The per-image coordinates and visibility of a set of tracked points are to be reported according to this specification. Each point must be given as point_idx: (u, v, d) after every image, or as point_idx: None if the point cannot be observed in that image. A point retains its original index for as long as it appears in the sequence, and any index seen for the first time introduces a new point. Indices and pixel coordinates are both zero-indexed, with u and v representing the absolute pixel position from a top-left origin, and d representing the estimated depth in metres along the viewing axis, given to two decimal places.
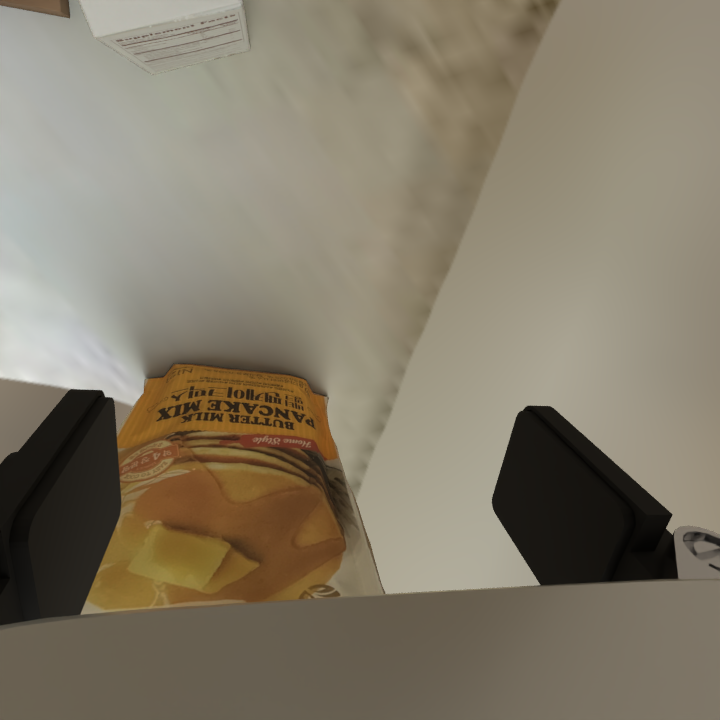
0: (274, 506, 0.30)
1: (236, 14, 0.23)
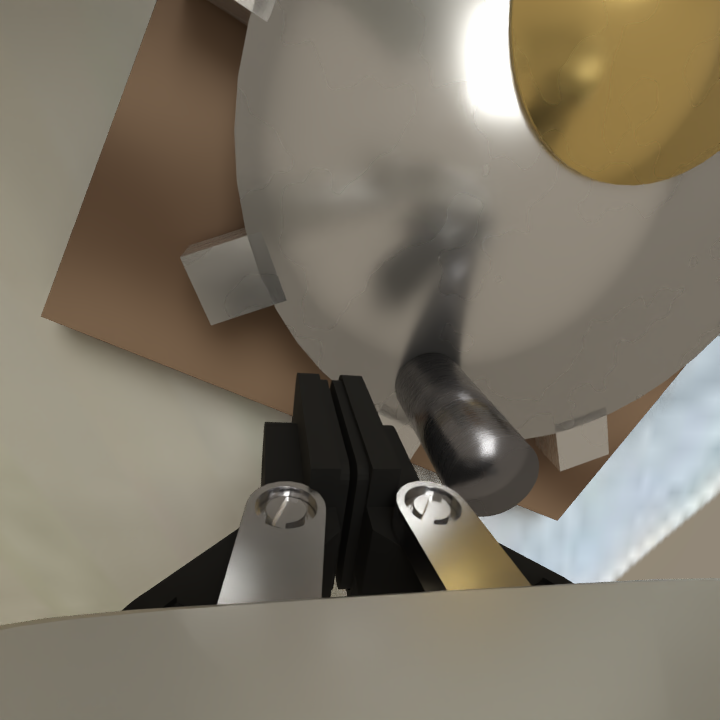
0: None
1: None
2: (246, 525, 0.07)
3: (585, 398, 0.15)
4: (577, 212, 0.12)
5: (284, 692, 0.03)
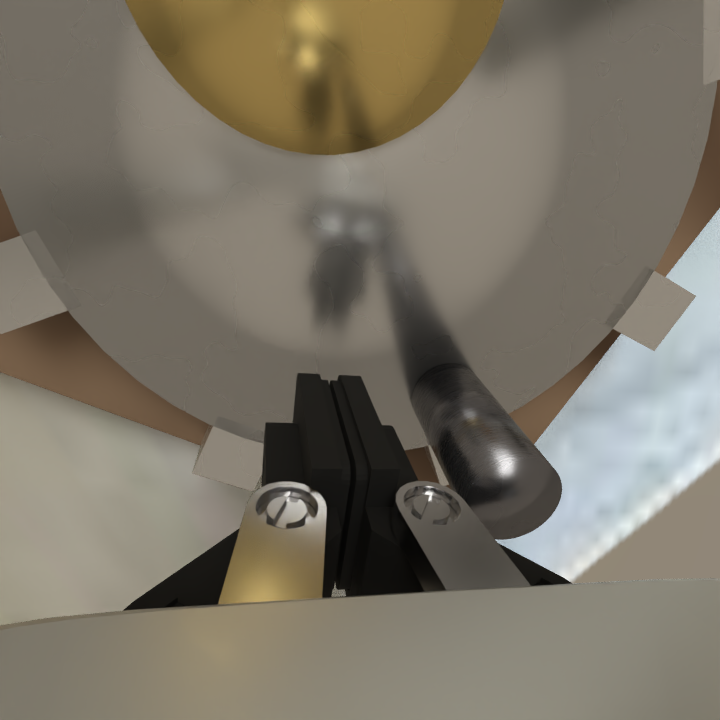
0: None
1: None
2: (247, 525, 0.07)
3: (613, 279, 0.12)
4: (430, 164, 0.11)
5: (284, 692, 0.03)
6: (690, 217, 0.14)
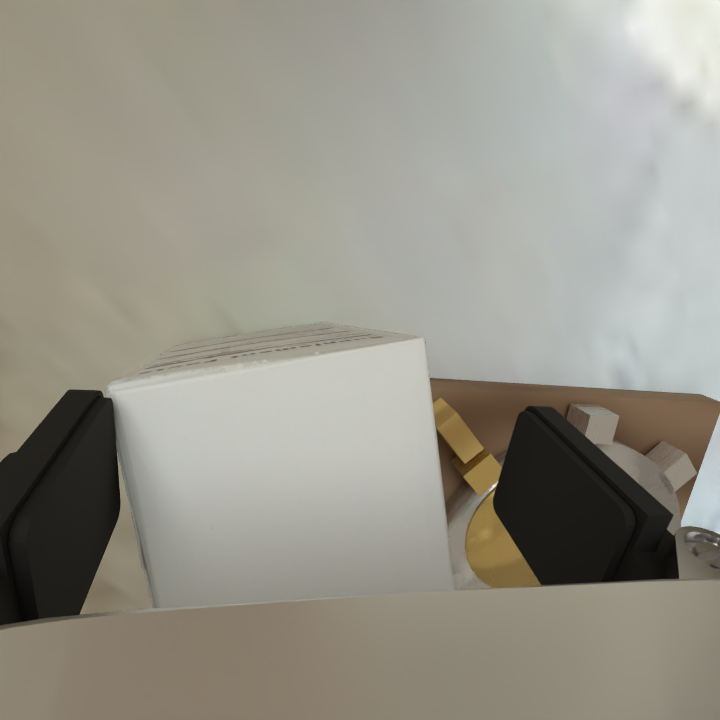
0: None
1: (136, 374, 0.11)
2: None
3: None
4: None
5: (284, 692, 0.03)
6: (681, 498, 0.30)
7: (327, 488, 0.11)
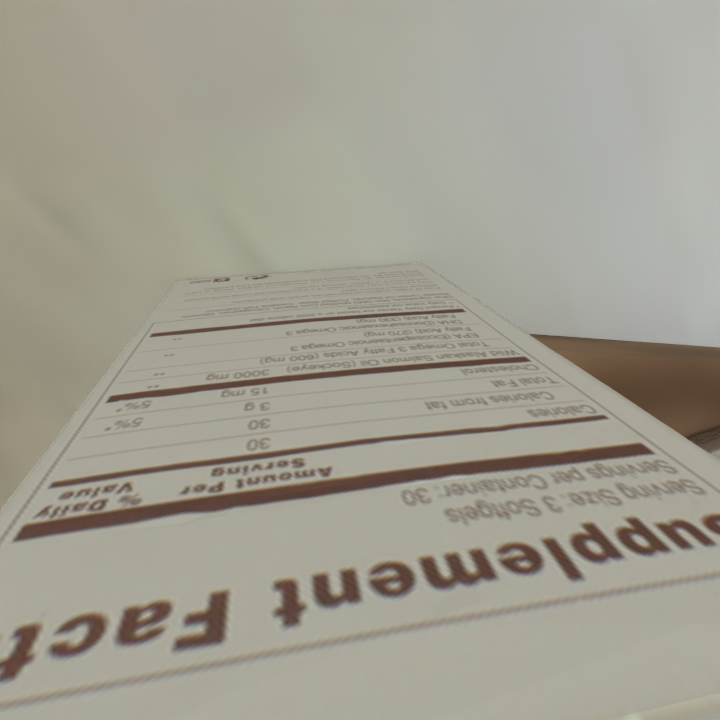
0: None
1: None
2: None
3: None
4: None
5: None
6: None
7: None
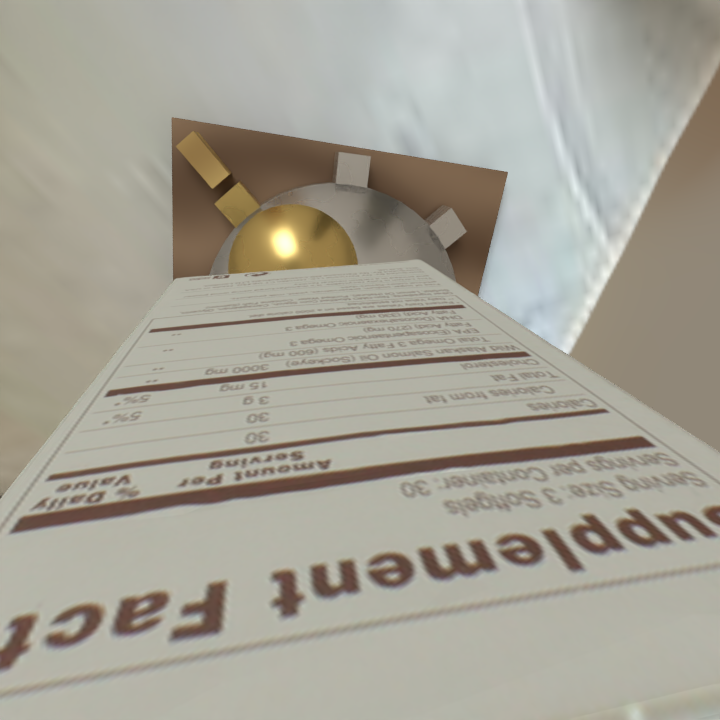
0: None
1: None
2: None
3: None
4: None
5: None
6: (474, 273, 0.32)
7: None
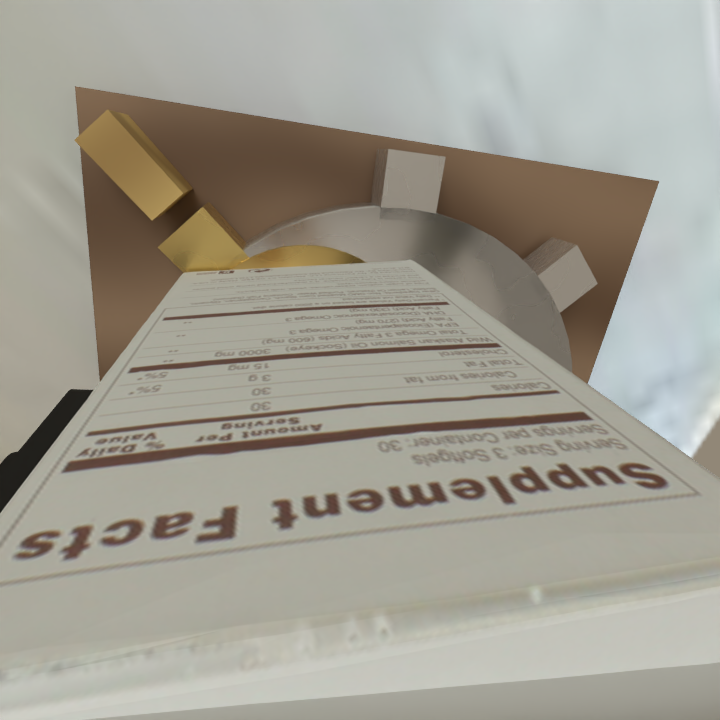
0: None
1: (14, 545, 0.04)
2: None
3: None
4: None
5: None
6: (589, 341, 0.20)
7: None
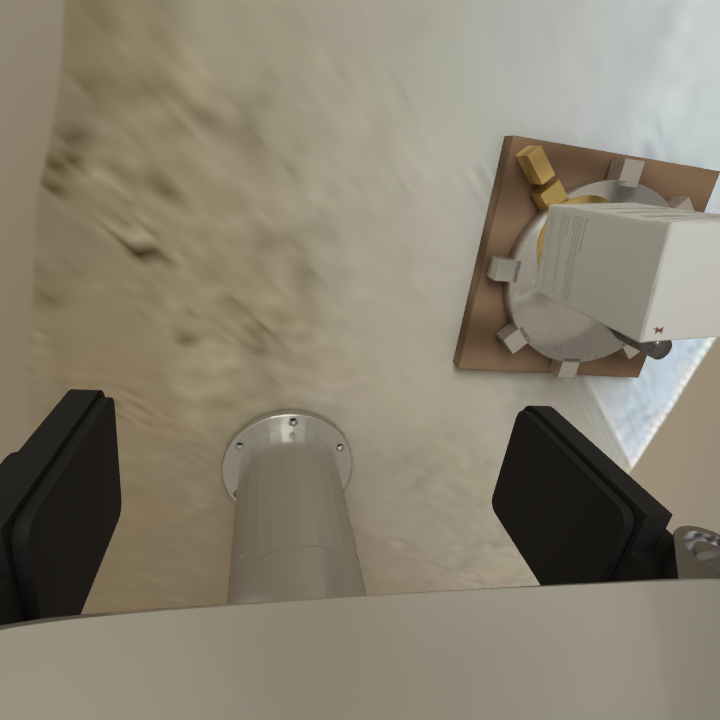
0: None
1: (660, 219, 0.27)
2: None
3: None
4: None
5: (284, 692, 0.03)
6: None
7: None
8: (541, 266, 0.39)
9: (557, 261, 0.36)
